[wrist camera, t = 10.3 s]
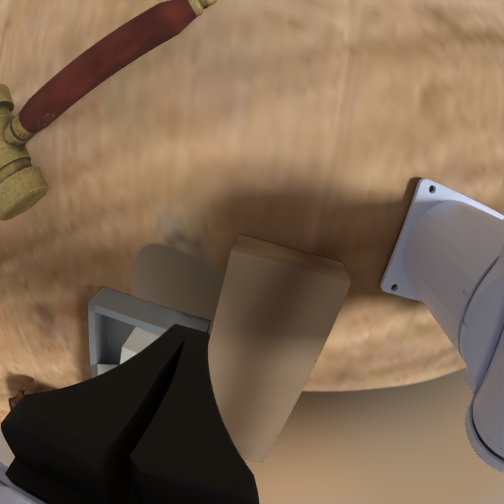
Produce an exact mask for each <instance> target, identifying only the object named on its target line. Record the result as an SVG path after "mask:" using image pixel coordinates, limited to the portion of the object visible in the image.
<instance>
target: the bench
mask: <svg viewBox="0 0 504 504" xmlns="http://www.w3.org/2000/svg"><path fill="white" fill-rule="evenodd" d="M350 285H351V280H350V278H349V276H348V273H347V271H346V269H345V267H344V265H343V263H342V262H339V261H335V260H331V259H328V258H324V257H321V256H317V255H314V254H310V253H306V252H303V251H299V250H295V249H292V248H288V247H285V246H281V245H277V244H274V243H270V242H266V241H263V240H259V239H255V238H252V237H248V236H244V235H241V234H238V235H237V237H236V240H235V242H234V244H233V247H232V249H231V253H230V257H229V261H228V265H227V269H226V273H225V277H224V281H223V285H222V289H221V293H220V297H219V301H218V306H217V310H216V314H215V319H214V322H213V327H212V331H211V335H210V339H209V344H208V362H209V370H210V377H211V383H212V387H213V392H214V396H215V399H216V403H217V406H218V409H219V412H220V414H221V417H222V420H223V422H224V424H225V427H226V429H227V431H228V433H229V435H230V437H231V439H232V441H233V443H234V445H235V447H236V448H237V450H238V452H239V454H240V455H241V457H242V459H243V460H247V461H252V462H258V463H262V462H263V461H264V459H265V457H266V456H267V454H268V452H269V450H270V449H271V447H272V445H273V444H274V442H275V440H276V438H277V437H278V435H279V433H280V431H281V429H282V428H283V426H284V424H285V422H286V420H287V418H288V416H289V415H290V413H291V411H292V409H293V407H294V405H295V403H296V401H297V399H298V398H299V396H300V394H301V392H302V390H303V388H304V386H305V384H306V382H307V380H308V378H309V376H310V374H311V372H312V370H313V368H314V366H315V364H316V362H317V359H318V357H319V355H320V353H321V351H322V349H323V347H324V345H325V342H326V340H327V338H328V336H329V334H330V332H331V329H332V327H333V325H334V323H335V320H336V318H337V316H338V313H339V311H340V309H341V306H342V304H343V302H344V299H345V297H346V295H347V292H348V290H349V287H350Z"/></svg>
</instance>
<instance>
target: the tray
mask: <svg viewBox="0 0 504 504" xmlns="http://www.w3.org/2000/svg"><path fill="white" fill-rule="evenodd" d="M174 324H179V325H182V326H186V327H189V328H193V329H197V330H200V331H204V332H208V329H209V325H210V320H208V319H204V318H201V317H197V316H194V315H190V314H187V313H183V312H180V311H177V310H174V309H170V308H167V307H164V306H161V305H157V304H154V303H151V302H148V301H145V300H141V299H139V298H136V297H133V296H130V295H127V294H124V293H121V292H118V291H115V290H112V289H109V288H106V287H103V288H102V289H101V290H100V291H99V292H98V293H97V294H96V295H95V296H94V297H93V298H91V299H90V300H89V301H88V329H89V351H90V366H91V378H93V377H96V376H97V364H106V365H120V360H121V352H122V346H123V345H124V343H125V342H126V341H127V339H128V338H129V336H130V335H131V333H132V332H133V330H134V329H135V328H136V327H139V328H142V329H145V330H148V331H151V332H154V333H158V334H161V335H162V334H163V333H164V332H166V331H167V330H168V329H169V328H170V327H171V326H172V325H174Z"/></svg>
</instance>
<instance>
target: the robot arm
mask: <svg viewBox="0 0 504 504" xmlns="http://www.w3.org/2000/svg"><path fill="white" fill-rule="evenodd" d="M431 185H432V186H433V191H432V192H429V187H430V186H431ZM394 284H396V287H395V288H393V289H391V286H392V285H394ZM380 287H381V289H382V290H383V291H384V292H387V293H390V294H394V295H398V296H402V297H405V298H409V299H413V300H417V301H420V302H423V303H424V304H425V306H426V307H427V308H428V310H429V311H430V312H431V314H432V315H433V317H434V318H435V319H436V321H437V322H438V324H439V325H440V326H441V328H442V329H443V331H444V332H445V333H446V335H447V336H448V338H449V339H450V341H451V342H452V344H453V345H454V347H455V348H456V349H457V351H458V352H459V354H460V355H461V357H462V358H463V360H464V362H465V364H466V367H467V373H466V377H465V380H466V382H467V384H468V385H469V387H470V389H471V390H472V392H473V394H474V395H473V398H472V400H471V402H470V404H469V406H468V408H467V412H466V417H465V428H466V433H467V437H468V440H469V442H470V444H471V446H472V447H473V449H474V450H475V452H476V453H477V455H478V456H479V457H480V458H481V459H482V460H483V461H484V462H486V463H487V464H488V465H489V466H491V467H493V468H494V469H497V470H498V471H500V472H503V473H504V215H502V214H500V213H498V212H496V211H494V210H492V209H491V208H489V207H487V206H485V205H483V204H481V203H479V202H477V201H475V200H473V199H471V198H468V197H466V196H464V195H462V194H460V193H458V192H456V191H454V190H451V189H449V188H447V187H445V186H443V185H440V184H438V183H436V182H434V181H431V180H429V179H426V178H422V179H420V180H419V182H418V184H417V187H416V190H415V193H414V196H413V199H412V202H411V205H410V208H409V211H408V213H407V216H406V219H405V222H404V225H403V227H402V230H401V233H400V235H399V238H398V241H397V243H396V246H395V248H394V251H393V253H392V256H391V258H390V261H389V263H388V266H387V268H386V271H385V273H384V275H383V278H382V280H381V283H380ZM209 339H210V335H209V334H208V332H204V331H200V330H197V329H193V328H189V327H186V326H182V325H179V324H174V325H172V326H171V327H170V328H169V329H168V330H167V331H166V332H164V333H163V334H162V335H161V336H160V337H159V338H157V339H156V340H155V341H154V342H152V343H151V344H150V345H148V346H147V347H146V348H144V349H143V350H142V351H140V352H139V353H137V354H136V355H134V356H133V357H131V358H130V359H128V360H126V361H125V362H123V363H122V364H120V365H118V366H116V367H114V368H113V369H111V370H109V371H107V372H105V373H103V374H100V375H98V376H96V377H93V378H91V379H89V380H86V381H84V382H81V383H78V384H75V385H71V386H68V387H64V388H61V389H57V390H52V391H47V392H41V393H35V394H27V395H24V396H23V397H22V398H21V399H20V400H19V401H18V402H17V403H16V405H15V406H14V407H13V408H12V410H11V411H10V412H9V414H8V415H7V416H6V418H5V419H4V420H3V421H2V423H1V430H2V433H3V435H4V437H5V440H6V441H7V443H8V445H9V447H10V449H11V450H12V452H13V454H14V455H15V458H14V460H13V462H12V463H11V465H10V466H9V468H8V467H7V466H5V465H4V464H2V463H1V462H0V504H259V497H258V491H257V486H256V482H255V478H254V475H253V473H252V472H251V470H250V469H249V468H248V466H247V465H246V463H245V462H244V460H243V459H242V457H241V455H240V454H239V452H238V450H237V448H236V447H235V445H234V443H233V441H232V439H231V437H230V435H229V433H228V431H227V429H226V427H225V424H224V422H223V420H222V417H221V414H220V412H219V409H218V406H217V403H216V399H215V396H214V392H213V387H212V383H211V377H210V370H209V362H208V344H209Z"/></svg>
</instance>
